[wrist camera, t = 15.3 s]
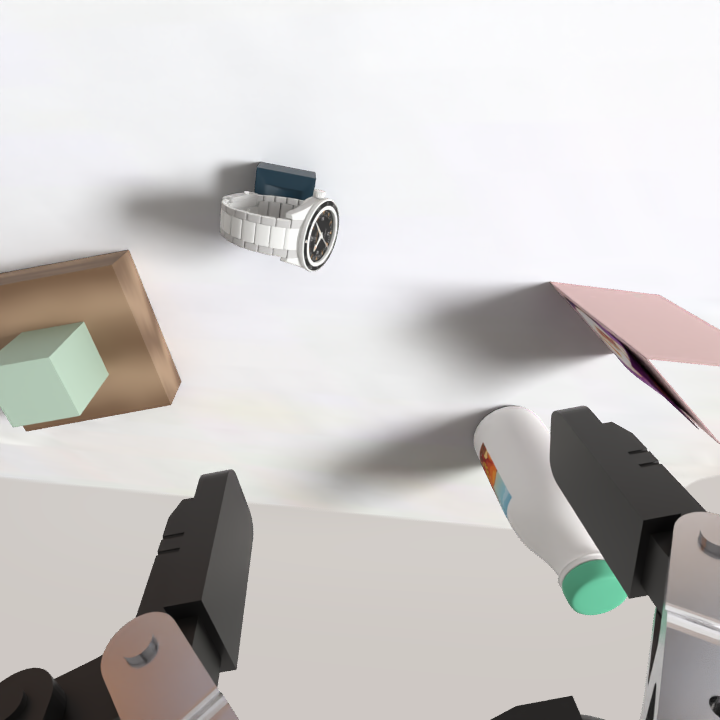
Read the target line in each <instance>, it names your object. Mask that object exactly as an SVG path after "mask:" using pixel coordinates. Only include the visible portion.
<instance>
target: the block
mask: <svg viewBox="0 0 720 720" xmlns="http://www.w3.org/2000/svg"><path fill="white" fill-rule="evenodd" d="M108 375H109V374H108V372H107V370H106V367H105V365H104V363H103V361H102V359H101V357H100V355H99V352H98V350H97V348H96V346H95V344H94V342H93V340H92V338H91V335H90V333H89V331H88V329H87V327H86V325H85V323H84V322H79V323H73V324H67V325H61V326H56V327H50V328H44V329H38V330H33V331H27V332H22V333H20V334H19V335H18V336H17V337H16V338H15V339H13V340H12V341H11V342H10V343H9V344H7V345H6V346H5V347H4V348H3V349H1V350H0V407H1V409H2V411H3V412H4V414H5V416H6V417H7V419H8V420H9V422H10V424H11V425H12V427H19V426H24V425H30V424H36V423H41V422H47V421H53V420H58V419H64V418H70V417H76V416H80V415H81V414H82V412H83V411H84V409H85V408H86V406H87V405H88V404H89V402H90V401H91V399H92V398H93V397H94V395H95V394H96V392H97V391H98V389H99V388H100V387H101V385H102V384H103V382H104V381H105V380H106V378H107V377H108Z"/></svg>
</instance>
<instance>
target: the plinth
mask: <svg viewBox="0 0 720 720" xmlns="http://www.w3.org/2000/svg"><path fill="white" fill-rule="evenodd" d="M79 322H84V323H85V325H86V327H87V329H88V331H89V333H90V335H91V338H92V340H93V342H94V344H95V346H96V348H97V350H98V352H99V355H100V357H101V359H102V361H103V363H104V365H105V367H106V370H107V372H108V374H109V375H108V377H107V378H106V380H105V381H104V382H103V384H102V385H101V387H100V388H99V389H98V391H97V392H96V394H95V395H94V397H93V398H92V399H91V401H90V402H89V404H88V405H87V406H86V408H85V409H84V411H83V412H82V414H81V415H80V416H76V417H70V418H64V419H58V420H53V421H47V422H41V423H36V424H30V425H24V426H23V427H24V429H25V430H26V431H32V430H37V429H42V428H48V427H53V426H59V425H64V424H70V423H75V422H81V421H86V420H92V419H97V418H102V417H108V416H113V415H119V414H124V413H130V412H135V411H141V410H146V409H152V408H157V407H162V406H168V405H171V404H172V401H173V399H174V397H175V395H176V392H177V390H178V388H179V386H180V383H181V380H180V377H179V375H178V372H177V370H176V367H175V365H174V362H173V360H172V357H171V355H170V352H169V350H168V347H167V345H166V342H165V339H164V337H163V334H162V332H161V329H160V327H159V324H158V322H157V319H156V317H155V314H154V312H153V309H152V307H151V304H150V302H149V299H148V297H147V294H146V292H145V289H144V287H143V284H142V282H141V279H140V277H139V274H138V272H137V269H136V267H135V264H134V262H133V259H132V257H131V254H130V252H129V250H126V251H121V252H115V253H110V254H104V255H99V256H93V257H88V258H82V259H77V260H71V261H66V262H60V263H55V264H49V265H44V266H38V267H33V268H27V269H22V270H16V271H11V272H5V273H0V350H1V349H3V348H4V347H5V346H6V345H7V344H9V343H10V342H11V341H12V340H13V339H15V338H16V337H17V336H18V335H19V334H20V333H22V332H27V331H33V330H38V329H44V328H50V327H56V326H61V325H67V324H73V323H79Z"/></svg>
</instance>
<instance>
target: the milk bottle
mask: <svg viewBox="0 0 720 720" xmlns="http://www.w3.org/2000/svg"><path fill="white" fill-rule="evenodd" d="M473 443H474V448H475V451H476V453H477V456H478V458H479V460H480V462H481V464H482V467H483V469H484V471H485V473H486V475H487V477H488V479H489V482H490V484H491V486H492V488H493V490H494V492H495V494H496V497H497V499H498V501H499V503H500V505H501V507H502V509H503V511H504V513H505V515H506V517H507V519H508V521H509V523H510V525H511V527H512V528H513V530H514V531H515V533H516V534H517V536H518V537H519V538H520V540H521V541H522V542H523V543H524V544H525V545H526V546H527V547H528V548H529V549H530V550H531V551H532V552H534V553H535V554H536V555H537V556H539V557H540V558H541V559H543V560H544V561H545V562H546V563H547V564H548V565H549V566H550V567H551V568H552V569H553V570H554V571H555V572H556V573H557V575H558V576H559V578H558V583H559V585H560V587H561V588H562V590H563V593H564V595H565V597H566V599H567V601H568V603H569V604H570V606H571V607H572V608H573V609H574V610H575V611H576V612H578V613H581V614H585V615H597V614H601V613H605V612H608V611H610V610H612V609H614V608H616V607H617V606H619V605H620V604H621V603H622V602H623V601H624V600H625V599H626V597H627V594H626V593H625V591H624V590H623V588H622V586H621V585H620V583H619V582H618V580H617V578H616V577H615V575H614V574H613V572H612V571H611V569H610V567H609V566H608V564H607V563H606V561H605V559H604V558H603V556H602V555H601V553H600V551H599V550H598V548H597V547H596V545H595V544H594V542H593V540H592V539H591V537H590V536H589V534H588V532H587V531H586V529H585V528H584V526H583V525H582V523H581V521H580V520H579V518H578V517H577V515H576V513H575V512H574V510H573V509H572V507H571V506H570V504H569V502H568V501H567V499H566V498H565V496H564V494H563V493H562V491H561V490H560V488H559V486H558V485H557V483H556V481H555V479H554V477H553V474H552V471H551V467H550V432H549V430H548V429H547V427H546V426H545V425H544V423H543V422H542V420H541V419H540V418H539V417H538V415H537V414H535V413H534V412H533V411H531V410H529V409H526V408H523V407H518V406H508V407H504V408H500V409H498V410H495V411H493V412H492V413H490V414H488V415H487V416H486V417H485V418H484V419H483V420H482V421H481V422H480V423H479V425H478V426H477V428H476V431H475V433H474V440H473Z"/></svg>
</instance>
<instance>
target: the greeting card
mask: <svg viewBox="0 0 720 720" xmlns="http://www.w3.org/2000/svg"><path fill="white" fill-rule="evenodd" d="M550 283H551V284H552V285H553V286H554V288H555V289H556V290H557V291H558V292H559V293H560V294H561V295H562V296H563V298H564V299H565V300H566V301H567V302H568V303H569V304H570V305H571V306H572V308H573V309H574V310H575V311H576V312H577V313H578V314H579V315H580V316H581V318H582V319H583V320H584V321H585V322H586V323H587V324H588V325H589V326H590V328H591V329H592V330H593V331H594V332H595V333H596V334H597V335H598V336H599V338H600V339H601V340H602V341H603V342H604V343H605V344H606V345H607V346H608V348H609V349H610V350H611V351H612V352H613V353H614V354H615V355H616V356H617V357H618V359H619V360H620V361H621V362H622V363H623V365H624V366H625V367H626V368H627V369H628V370H629V371H630V372H631V373H633V374H634V375H635V376H636V377H637V378H639V379H640V380H642V381H643V382H644V383H646V384H647V385H648V386H650V387H651V388H653V389H654V390H655V391H657V392H658V393H659V394H661V395H662V396H663V397H665V398H666V399H667V400H668V401H669V402H670V403H671V404H672V405H673V406H674V407H675V408H676V409H677V410H678V411H679V412H681V413H682V414H683V415H684V416H685V417H686V418H687V419H688V420H689V421H690V422H691V423H692V424H693V425H694V426H695V427H696V428H697V426H696V425H695V424H697V425H698V426H699V427H700V428H701V429H702V430H704V431H705V432H706V433H707V434H708V435H709V436H711V437H712V438H713V439H714V440H715V441H716V442H718V443H719V444H720V442H719V441H718V440H717V439H716V438H715V437H714V435H713V434H712V433H711V432H710V431H709V430H708V429H707V427H706V426H705V425H704V424H703V423H702V422H701V420H700V419H699V418H698V417H697V416H696V415H695V413H694V412H693V411H692V410H691V409H690V408H689V406H688V405H687V404H686V403H685V402H684V401H683V399H682V398H681V397H680V396H679V395H678V394H677V392H676V391H675V390H674V389H673V388H672V387H671V385H670V384H669V383H668V382H667V381H666V380H665V378H664V377H663V376H662V375H661V374H660V373H659V371H658V370H657V369H656V368H655V367H654V366H653V364H652V363H651V362H650V361H649V360H648V359H651V360H661V361H671V362H681V363H691V364H701V365H711V366H720V330H719V329H717V328H716V327H714V326H712V325H710V324H709V323H707V322H705V321H703V320H702V319H700V318H698V317H697V316H695V315H693V314H691V313H690V312H688V311H686V310H685V309H683V308H681V307H679V306H678V305H676V304H674V303H672V302H671V301H669V300H667V299H666V298H664V297H662V296H660V295H655V294H647V293H639V292H631V291H622V290H614V289H606V288H598V287H590V286H582V285H573V284H565V283H557V282H550ZM689 418H690V419H691V420H692V421H693V422H694V423H695V424H694V423H693V422H692V421H691V420H690V419H689ZM697 429H698V428H697Z"/></svg>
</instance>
